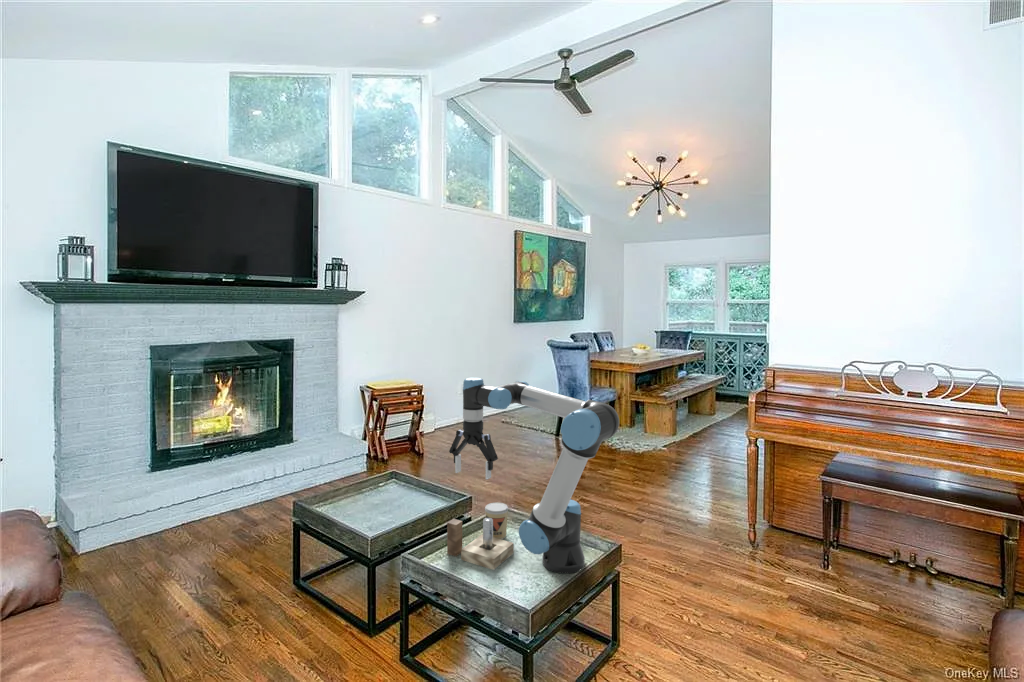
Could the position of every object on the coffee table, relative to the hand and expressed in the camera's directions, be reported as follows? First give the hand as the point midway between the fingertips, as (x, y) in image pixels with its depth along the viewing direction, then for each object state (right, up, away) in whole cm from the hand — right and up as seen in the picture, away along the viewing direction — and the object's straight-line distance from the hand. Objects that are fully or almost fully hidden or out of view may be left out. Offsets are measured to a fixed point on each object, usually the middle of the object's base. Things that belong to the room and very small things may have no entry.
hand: (472, 475), depth 197 cm
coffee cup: (+8, -28, +14) cm, 32 cm away
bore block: (+6, -29, -3) cm, 30 cm away
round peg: (+6, -29, -3) cm, 30 cm away
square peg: (-7, -29, -1) cm, 30 cm away
